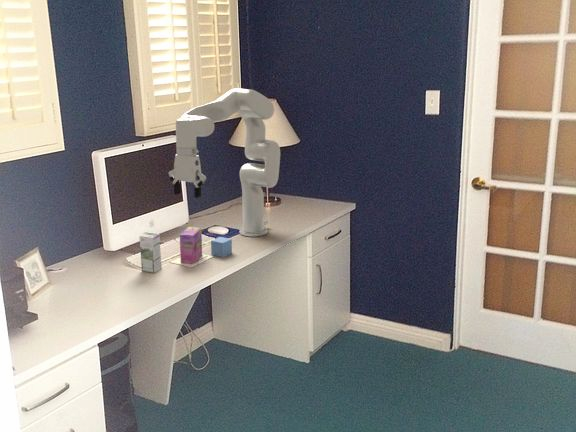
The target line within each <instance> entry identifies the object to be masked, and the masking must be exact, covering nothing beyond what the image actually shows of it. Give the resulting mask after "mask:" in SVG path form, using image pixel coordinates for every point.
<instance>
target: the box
mask: <svg viewBox="0 0 576 432" xmlns="http://www.w3.org/2000/svg"><path fill="white" fill-rule="evenodd" d="M202 232H203V229H202V227H197V226H188V227H186V228H185V229H184V230H183V231H182V232H180V234H179V245H180V247H179V248H180V255H179V256H180V257H181V263H190V264H194V263H195V262H196V261H197V260H198V259H199V258H200V257H201V256H202V254H203V239H202V238H203V237H202V236H203V235H202V234H203V233H202Z"/></svg>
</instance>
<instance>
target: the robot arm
mask: <svg viewBox="0 0 576 432" xmlns="http://www.w3.org/2000/svg"><path fill="white" fill-rule="evenodd" d="M274 112H275V105H274V103H273V102H272V100H271V99H269V98H268V97H266V96H265V95H264V94H262V93H260V92H258V91H257V90H254V89H250V88H249V89H247V88H233V89H230V90H229V91H227V92H226V93H224V94H223V95H221V96H220V97H218V98H217V99H216V100H214V101H211V102H208V103H205V104H202V105H199V106H195V107H194V108H191V109H190V110H189V111H186V112H185V113H184V114H183V115H182V116H181V117H180V118H177V120H176V121H175V142H176V143H175V144H176V145H175V146H176V150H175V151H176V154H175V157H174V161H173V169H171V170H169V171H168V176H169V177H170V180H171V182H172V185H173V192H174V195H175V196H176V195H177V196H178V195H179V194H181V193H182V188H181V187H182V186H181V185H182V184H181V183H180V182H187V183H193V185H194V186H195V187H194V191H193V192H194V194H193V195H194V198H195V199H198V198H200V197H202V187H203V185H204V184H205V181H207V176H206V175H204V174H203V173H202V168H201V167H202V166H201V160H200V156H199V153H200V152H199V149H198V147H197V137H208V136H210V135H212V134H213V132H214V131H215V123H216V122H224V121H225V120H228V119H229V118H230V117H231V116H233V115H234V114H235V113H237V114H238V115H239V116H240V118H241V119H242V121H243V122H244V126H245V139H244V141H245V142H244V155H245V157H246V159H248V160H251V161H257V162H262V163H263V162H264V164H260V163H253V162H247V163H244V164H243V165H242V166H241V167H240V170H239V180H240V185H241V196H242V199H241V201H242V203H241V204H242V207H241V208H242V227H241V228H240V229H239V234H240V235H242V236H244V237H261V236H265V235H267V234H268V229H267V228H266V227H265V226H266V225H267V224H269V220H268V219H265V211H264V209H265V201H264V200H265V199H264V198H265V194H264V191H263V188H274V187H275V186H277V184H278V181H279V174H280V166H281V165H280V163H281V149H280V148H281V147H280V145H279V143H278V142H277V141H275V140H273V139H272V140H271V139H266V132H267V131H266V124H265V122H264V120H265V121H266V120H270V119H271V118H272V117H273V116H274V115H275V113H274ZM197 154H198V155H197Z"/></svg>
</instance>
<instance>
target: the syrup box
mask: <svg viewBox="0 0 576 432" xmlns="http://www.w3.org/2000/svg"><path fill="white" fill-rule="evenodd" d="M160 235H161V234H160V232H159V233H158V232H152V231H145V232H143V233H142V234H140V235H139V246H140V248H139V249H140V263H141V271H142V272H143V273H151V274H155V273H157V272H159V271H160V270H162V255H161V254H162V253H161V236H160Z"/></svg>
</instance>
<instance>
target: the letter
mask: <svg viewBox="0 0 576 432" xmlns="http://www.w3.org/2000/svg"><path fill="white" fill-rule="evenodd" d="M213 258H214V255H208V254H204V253H202V256H201V257H200V258H199V259H198V260H197V261H196V262H195V263H194V264H190V263H181V257H177V258H176V259H174V260H171V261H169V263H171V264H175V265H179V266H183V267H188V268H194V267H196V266H199V265H200V264H202V263H204V262H206V261H208V260H210V259H213Z"/></svg>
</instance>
